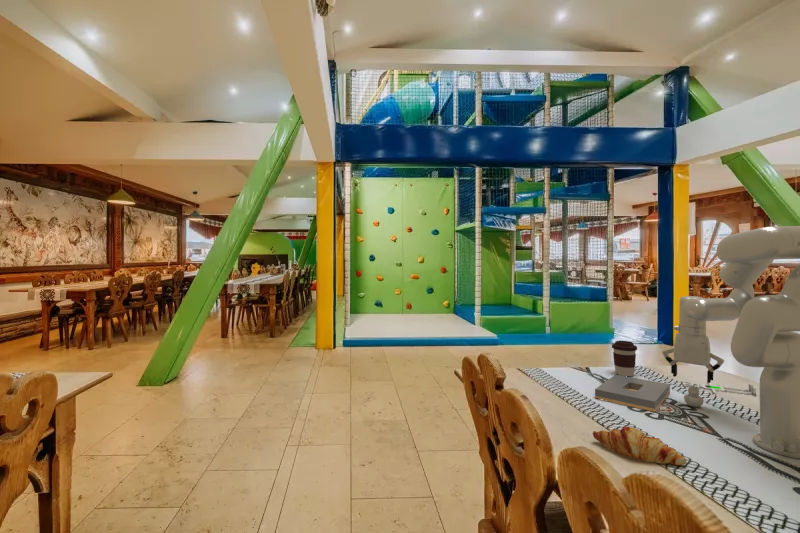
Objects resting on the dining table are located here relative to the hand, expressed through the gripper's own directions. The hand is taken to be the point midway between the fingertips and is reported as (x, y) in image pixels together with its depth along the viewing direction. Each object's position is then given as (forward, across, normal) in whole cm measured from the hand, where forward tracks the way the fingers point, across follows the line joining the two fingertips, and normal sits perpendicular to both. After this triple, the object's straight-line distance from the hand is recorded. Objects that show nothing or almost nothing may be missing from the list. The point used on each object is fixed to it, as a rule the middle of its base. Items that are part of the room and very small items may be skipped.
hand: (691, 378), depth 133 cm
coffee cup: (+11, -27, +25) cm, 39 cm away
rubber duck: (+10, +1, -1) cm, 10 cm away
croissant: (+9, -5, -54) cm, 55 cm away
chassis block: (+10, -17, -4) cm, 20 cm away
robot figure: (+10, +5, +27) cm, 30 cm away
